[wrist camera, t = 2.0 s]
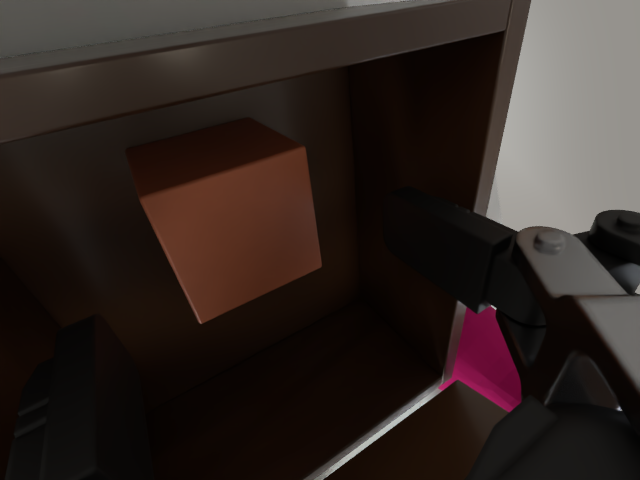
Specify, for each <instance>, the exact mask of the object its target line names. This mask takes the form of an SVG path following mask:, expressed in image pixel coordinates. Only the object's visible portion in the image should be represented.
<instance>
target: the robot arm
mask: <svg viewBox="0 0 640 480" xmlns="http://www.w3.org/2000/svg"><path fill="white" fill-rule="evenodd" d="M383 239H384V242H385V245H386V247H387V248H388V250H389V251H390V252H391V253H392V254H393V255H395V256H396V257H397V258H399V259H400V260H402V261H403V262H404V263H406V264H407V265H409V266H410V267H411V268H413V269H414V270H416V271H417V272H418V273H420V274H421V275H423V276H424V277H425V278H427V279H428V280H430V281H431V282H433V283H434V284H435V285H437V286H438V287H440V288H441V289H442V290H444V291H445V292H447V293H448V294H449V295H451V296H452V297H454V298H455V299H456V300H458V301H459V302H461V303H462V304H463V305H465V306H466V307H468V308H469V309H470V310H472V311H473V312H475V313H476V314H479V313H480V312H482V311H483V310H485V309H486V308H488V307H489V306H491V305H493V306H494V307H496V308H497V309H496V313H495V317H496V320H497V323H498V325H499V328H500V330H501V333H502V335H503V337H504V340H505V342H506V345H507V347H508V350H509V352H510V355H511V357H512V360H513V362H514V364H515V367H516V369H517V372H518V374H519V378H520V383H521V403H520V404H518V405H517V406H516V407H515V408H514V409H513V410H512V411H510V412H509V413H508V414H507V415H506V416H505V417H503V418H502V419H501V420H500V421H499V422H498V423H497V424H495V425H494V427H493V429H492V430H491V432H490V434H489V436H488V438H487V440H486V442H485V444H484V446H483V448H482V449H481V451H480V453H479V455H478V457H477V459H476V461H475V463H474V465H473V467H472V468H471V470H470V472H469V474H468V475H467V477H466V478H465V479H464V480H640V294H637V293H635V290H636V289H637V287H638V285H639V284H640V213H637V212H632V211H625V210H608V211H603V212H601V213H599V214H598V215H597V216H596V217H595V220H594V222H593V225H592V227H591V229H590V231H587V232H582V233H578V234H574V235H572V234H570V233H567V232H565V231H563V230H559V229H556V228H551V227H543V226H535V227H528V228H525V229H522V230H520V231H519V232H517V231H515V230H513V229H511V228H509V227H506V226H504V225H502V224H500V223H497V222H495V221H493V220H491V219H489V218H486V217H484V216H482V215H480V214H477V213H475V212H470V210H469V209H466V208H464V207H462V206H460V207H459V206H458V205H457V204H455V203H453V202H451V201H449V200H446V199H444V198H440V197H435V196H431V195H428V194H426V193H424V192H422V191H420V190H418V189H415V188H413V187H411V186H405V187H402V188H400V189H398V190H395V191H393V192H390V193H388V194H386V195H385V196H384V198H383ZM621 409H622V411H620V410H621ZM18 415H19V418H17V419H16V424H15V429H14V434H13V435H14V436H15V439H14V440H12V444H11V449H10V454H9V459H8V464H7V470H6V475H5V480H154V473H153V466H152V459H151V452H150V445H149V438H148V431H147V424H146V417H145V410H144V403H143V396H142V389H141V382H140V377H139V373H138V370H137V367H136V365H135V363H134V360H133V359H132V357H131V355H130V354H129V352H128V351H127V349H126V348H125V347H124V345H123V344H122V342H121V341H120V340H119V338H118V337H117V336H116V334H115V333H114V331H113V330H112V329H111V327H110V326H109V324H108V323H107V322H106V320H105V319H104V318H103V317H102V316H101V315H100V314H98V313H97V314H94V315H92V316H89V317H87V318H85V319H82V320H80V321H77V322H75V323H73V324H70V325H68V326H65V327H63V328H61V329H59V330H58V331H57V334H56V342H55V350H54V357H53V358H51V359H48V360H46V361H44V362H42V363H39V364H38V365H37V367H36V368H35V370H34V372H33V373H32V375H31V376H30V378H29V380H28V381H27V383H26V384H25V386H24V388H23V389H22V394H21V399H20V404H19V409H18Z"/></svg>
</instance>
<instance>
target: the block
mask: <svg viewBox="0 0 640 480" xmlns="http://www.w3.org/2000/svg"><path fill="white" fill-rule="evenodd" d="M125 154H126V158H127V161H128V164H129V168H130V171H131V174H132V178H133V181H134V184H135V188H136V191H137V194H138V198H139V201H140V203H141V205H142V207H143V209H144V211H145V213H146V215H147V217H148V219H149V221H150V223H151V226H152V228H153V230H154V232H155V234H156V236H157V238H158V240H159V242H160V244H161V246H162V248H163V250H164V252H165V254H166V257H167V259H168V261H169V263H170V265H171V267H172V269H173V271H174V273H175V275H176V277H177V279H178V281H179V283H180V285H181V287H182V290H183V292H184V294H185V296H186V298H187V300H188V302H189V304H190V306H191V308H192V310H193V312H194V314H195V316H196V318H197V321H198V322H199V323H200V324H203V323H205V322H207V321H209V320H211V319H213V318H215V317H217V316H219V315H222V314H224V313H226V312H228V311H230V310H232V309H234V308H236V307H238V306H241V305H243V304H245V303H247V302H249V301H251V300H253V299H255V298H257V297H260V296H262V295H264V294H266V293H268V292H270V291H272V290H274V289H276V288H279V287H281V286H283V285H285V284H287V283H289V282H291V281H293V280H295V279H298V278H300V277H302V276H304V275H306V274H308V273H310V272H312V271H314V270H317V269H319V268H321V267H322V261H321V254H320V247H319V240H318V233H317V226H316V218H315V211H314V204H313V197H312V190H311V183H310V175H309V168H308V161H307V154H306V148H305V146H303V145H302V144H300V143H298V142H296V141H294V140H292V139H290V138H288V137H286V136H284V135H282V134H280V133H279V132H277V131H275V130H273V129H271V128H269V127H267V126H265V125H263V124H261V123H259V122H257V121H256V120H254V119H252V118H249V117H248V118H245V119H241V120H237V121H233V122H229V123H225V124H221V125H217V126H214V127H210V128H206V129H202V130H198V131H194V132H190V133H187V134H183V135H179V136H175V137H171V138H167V139H163V140H160V141H156V142H152V143H148V144H144V145H140V146H136V147H133V148H129V149H126V150H125Z"/></svg>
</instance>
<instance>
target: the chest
mask: <svg viewBox="0 0 640 480" xmlns="http://www.w3.org/2000/svg"><path fill="white" fill-rule="evenodd" d="M530 3H531V0H410V1H400V2H391V3H381V4H371V5H362V6H352V7H345V8H338V9H331V10H324V11H318V12H311V13H304V14H297V15H290V16H284V17H277V18H270V19H263V20H256V21H250V22H243V23H236V24H229V25H222V26H216V27H209V28H202V29H195V30H188V31H182V32H175V33H168V34H161V35H154V36H148V37H141V38H134V39H127V40H120V41H114V42H107V43H100V44H93V45H86V46H80V47H73V48H66V49H59V50H52V51H46V52H39V53H32V54H25V55H18V56H12V57H5V58H0V480H5V475H6V470H7V464H8V459H9V454H10V449H11V444H12V440H14V439H15V436H14V435H13V434H14V429H15V424H16V419H17V418H19V415H18V409H19V404H20V399H21V394H22V389H23V388H24V386H25V384H26V383H27V381H28V380H29V378H30V376H31V375H32V373H33V372H34V370H35V368H36V367H37V365H38V364H39V363H42V362H44V361H46V360H48V359H51V358H53V357H54V350H55V342H56V334H57V331H58V330H59V329H61V328H63V327H65V326H68V325H70V324H73V323H75V322H77V321H80V320H82V319H85V318H87V317H89V316H92V315H94V314H97V313H98V314H100V315H101V316H102V317H103V318H104V319H105V320H106V322H107V323H108V324H109V326H110V327H111V329H112V330H113V331H114V333H115V334H116V336H117V337H118V338H119V340H120V341H121V342H122V344H123V345H124V347H125V348H126V349H127V351H128V352H129V354H130V355H131V357H132V359H133V360H134V363H135V365H136V367H137V370H138V373H139V377H140V382H141V389H142V396H143V403H144V410H145V417H146V424H147V431H148V438H149V445H150V452H151V459H152V466H153V473H154V480H313V479H315V478H316V477H318V476H319V475H320V474H322V473H323V472H324V471H326V470H327V469H328V468H330V467H331V466H332V465H334V464H335V463H337V462H338V461H339V460H341V459H342V458H343V457H345V456H346V455H347V454H349V453H350V452H351V451H353V450H354V449H356V448H357V447H358V446H360V445H361V444H362V443H364V442H365V441H366V440H368V439H369V438H370V437H372V436H373V435H374V434H376V433H377V432H379V431H380V430H381V429H383V428H384V427H385V426H387V425H388V424H389V423H391V422H392V421H393V420H395V419H396V418H398V417H399V416H400V415H402V414H403V413H404V412H406V411H407V410H408V409H410V408H411V407H412V406H414V405H415V404H417V403H418V402H419V401H421V400H422V399H423V398H425V397H426V396H427V395H429V394H430V393H431V392H433V391H434V390H436V389H437V388H438V387H440V386H441V384H444V383H445V382H446V381H448V380H449V379H451V378H452V374H453V370H454V365H455V360H456V355H457V351H458V346H459V341H460V336H461V332H462V327H463V322H464V317H465V313H466V308H467V307H466V306H465V305H463V304H462V303H461V302H459V301H458V300H456V299H455V298H454V297H452V296H451V295H449V294H448V293H447V292H445V291H444V290H442V289H441V288H440V287H438V286H437V285H435V284H434V283H433V282H431V281H430V280H428V279H427V278H425V277H424V276H423V275H421V274H420V273H418V272H417V271H416V270H414V269H413V268H411V267H410V266H409V265H407V264H406V263H404V262H403V261H402V260H400V259H399V258H397V257H396V256H395V255H393V254H392V253H391V252H390V251H389V250H388V248H387V247H386V245H385V242H384V239H383V198H384V196H385V195H386V194H388V193H390V192H393V191H395V190H398V189H400V188H402V187H405V186H411V187H413V188H415V189H418V190H420V191H422V192H424V193H426V194H428V195H431V196H435V197H440V198H444V199H446V200H449V201H451V202H453V203H455V204H457V205H458V206H459V207H460V206H462V207H464V208H466V209H469V210H470V212H475V213H477V214H480V215H482V216H484V217H486V213H487V208H488V203H489V198H490V194H491V189H492V184H493V179H494V175H495V170H496V165H497V160H498V155H499V151H500V146H501V141H502V136H503V132H504V127H505V122H506V118H507V112H508V108H509V103H510V98H511V94H512V89H513V84H514V80H515V75H516V70H517V65H518V60H519V56H520V51H521V46H522V42H523V37H524V32H525V27H526V22H527V18H528V13H529V8H530ZM248 117H249V118H252V119H254V120H256V121H257V122H259V123H261V124H263V125H265V126H267V127H269V128H271V129H273V130H275V131H277V132H279V133H280V134H282V135H284V136H286V137H288V138H290V139H292V140H294V141H296V142H298V143H300V144H302V145H303V146H305V148H306V154H307V161H308V168H309V175H310V183H311V190H312V197H313V204H314V211H315V218H316V226H317V233H318V240H319V247H320V254H321V261H322V267H321V268H319V269H317V270H314V271H312V272H310V273H308V274H306V275H304V276H302V277H300V278H298V279H295V280H293V281H291V282H289V283H287V284H285V285H283V286H281V287H279V288H276V289H274V290H272V291H270V292H268V293H266V294H264V295H262V296H260V297H257V298H255V299H253V300H251V301H249V302H247V303H245V304H243V305H241V306H238V307H236V308H234V309H232V310H230V311H228V312H226V313H224V314H222V315H219V316H217V317H215V318H213V319H211V320H209V321H207V322H205V323H203V324H200V323H199V322H198V321H197V318H196V316H195V314H194V312H193V310H192V308H191V306H190V304H189V302H188V300H187V298H186V296H185V294H184V292H183V290H182V287H181V285H180V283H179V281H178V279H177V277H176V275H175V273H174V271H173V269H172V267H171V265H170V263H169V261H168V259H167V257H166V254H165V252H164V250H163V248H162V246H161V244H160V242H159V240H158V238H157V236H156V234H155V232H154V230H153V228H152V226H151V223H150V221H149V219H148V217H147V215H146V213H145V211H144V209H143V207H142V205H141V203H140V201H139V198H138V194H137V191H136V188H135V184H134V181H133V178H132V174H131V171H130V168H129V164H128V161H127V158H126V154H125V150H126V149H129V148H133V147H136V146H140V145H144V144H148V143H152V142H156V141H160V140H163V139H167V138H171V137H175V136H179V135H183V134H187V133H190V132H194V131H198V130H202V129H206V128H210V127H214V126H217V125H221V124H225V123H229V122H233V121H237V120H241V119H245V118H248Z"/></svg>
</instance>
